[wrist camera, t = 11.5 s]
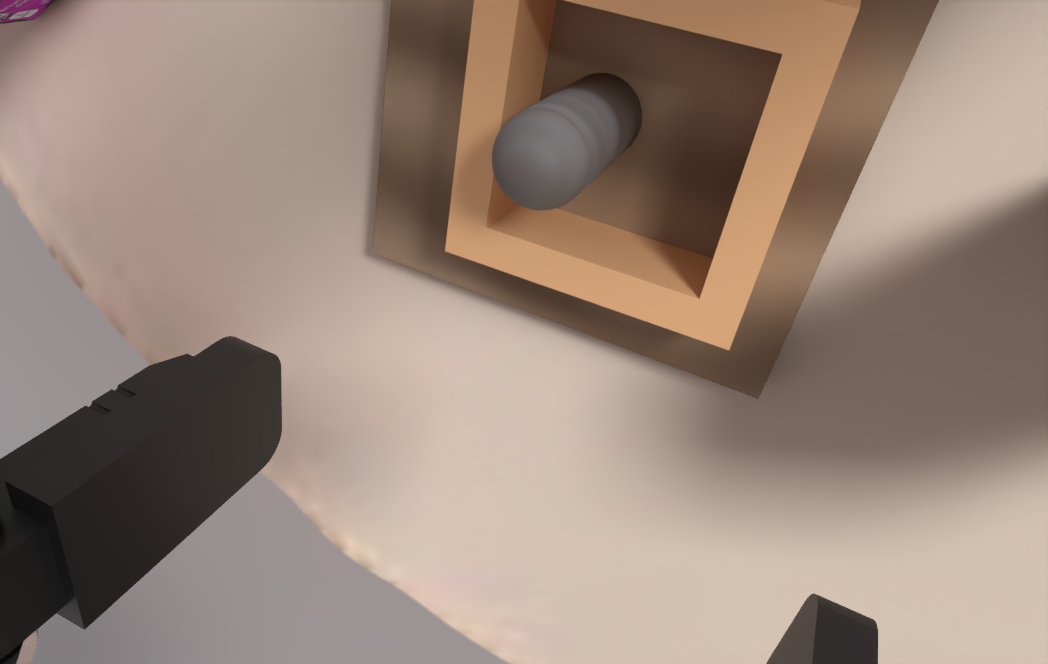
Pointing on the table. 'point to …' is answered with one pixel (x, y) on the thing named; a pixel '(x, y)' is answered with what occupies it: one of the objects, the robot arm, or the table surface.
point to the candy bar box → (21, 9)
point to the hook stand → (634, 157)
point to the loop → (611, 253)
